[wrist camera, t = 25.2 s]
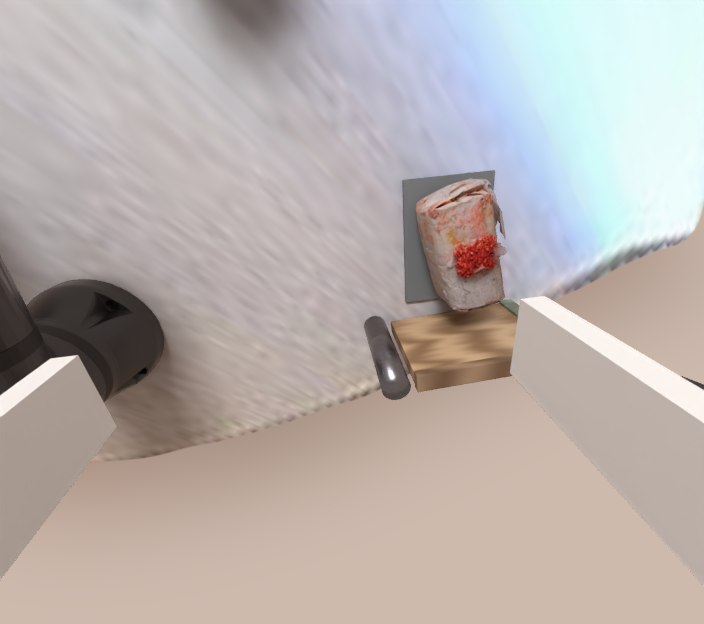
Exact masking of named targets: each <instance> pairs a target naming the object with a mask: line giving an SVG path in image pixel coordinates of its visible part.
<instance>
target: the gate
mask: <svg viewBox="0 0 704 624" xmlns="http://www.w3.org/2000/svg"><path fill="white" fill-rule="evenodd" d="M518 312H519V305H518V304H516V303H515V302H514V301H512V300H511V299H510V300H504V301H499V304H494V305H489V306H487V307H484V308H478V309H473V310H471V311H470V312H458V311H452V312H446V313H440V314H434V315H428V316H422V317H416V318H410V319H404V320H398V321H392V322H391V327H392V333H393V335H394V337H395V339H396V342H397V344H398V346H399V349H400V351H401V353H402V355H403V358H404V360H405V362H406V365H407V367H408V369H409V371H410V374H411V376H412V378H413V381H414V383H415V387H416V389H417V391H418V392H422V391H427V390H433V389H438V388H445V387H450V386H456V385H462V384H467V383H473V382H478V381H485V380H490V379H496V378H501V377H508V376H512V375H511V374H510V368H511V361H512V354H513V347H514V340H515V333H516V326H517V319H518Z"/></svg>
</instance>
